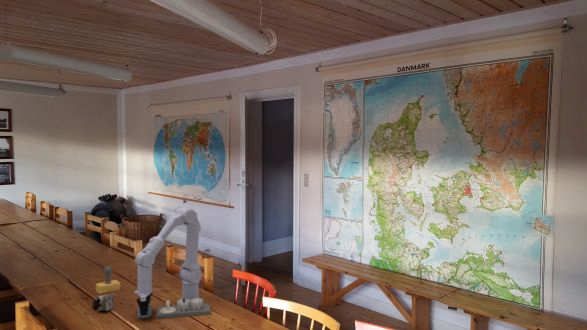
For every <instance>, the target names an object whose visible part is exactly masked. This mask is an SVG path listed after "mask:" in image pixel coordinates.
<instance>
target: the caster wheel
mask: <svg viewBox="0 0 587 330" xmlns="http://www.w3.org/2000/svg"><path fill="white" fill-rule="evenodd" d="M114 296H115V295H114V293H109V294H104V295H97V296H96V299H93V300H92V307H93V308H95V307H96V311H97V312H99V311H106V312H109V311H112V310H115V299H114V298H115V297H114Z"/></svg>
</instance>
